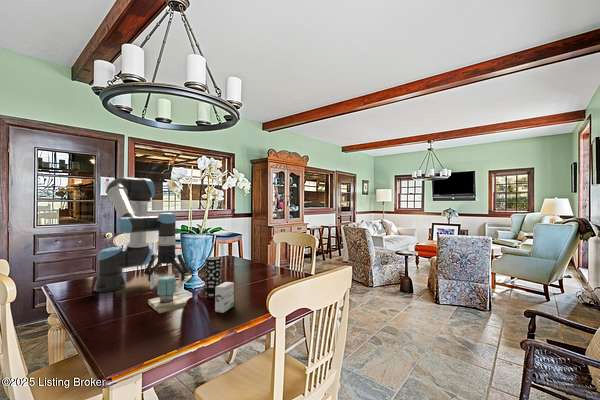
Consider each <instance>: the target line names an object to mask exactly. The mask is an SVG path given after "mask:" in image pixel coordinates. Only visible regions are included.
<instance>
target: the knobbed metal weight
mask: <svg viewBox="0 0 600 400" xmlns="http://www.w3.org/2000/svg"><path fill="white" fill-rule="evenodd" d="M159 297H160V303H169V302H172V301H173V294H170V295H159Z"/></svg>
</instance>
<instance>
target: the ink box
mask: <svg viewBox="0 0 600 400" xmlns="http://www.w3.org/2000/svg"><path fill="white" fill-rule="evenodd" d="M234 297H235V283H234V282H231V281H225V282H223V283H222V282H221V284H220V285H218V286H216V287H215V298H214V299H215V300H214V301H215V302H214V311H215V312H216V313H221V314H224V313H225V312H227V311H228V310H230V309H232V308H234V306H235V298H234Z"/></svg>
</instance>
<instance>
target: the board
mask: <svg viewBox="0 0 600 400" xmlns="http://www.w3.org/2000/svg"><path fill="white" fill-rule="evenodd" d="M147 304H148V305H149V306H150V307H151V308H152V309H153V310H154V311H156V312H157V313H158V314H162V313H165V312H169V311H174V310H177V309H180V308H184V307H186V301H185V300H183V299H182V298H179V297H178V296H177V295H175V293H174V294H173V301H172V302H169V303H160V296H159V297H154V298H151V299H148V300H147Z"/></svg>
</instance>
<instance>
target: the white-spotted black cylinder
mask: <svg viewBox="0 0 600 400" xmlns="http://www.w3.org/2000/svg"><path fill="white" fill-rule="evenodd" d="M204 261H205V262H204V263H205V264H204V267H205V271H204V277H205V278H204V280H205V281H204V297H205V298H207V299H215V287H216V286H218V285H220V284H222V257H220V256H209V257H206V258H205V260H204Z"/></svg>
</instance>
